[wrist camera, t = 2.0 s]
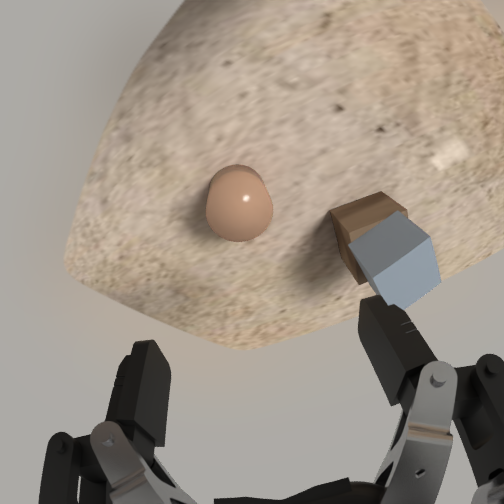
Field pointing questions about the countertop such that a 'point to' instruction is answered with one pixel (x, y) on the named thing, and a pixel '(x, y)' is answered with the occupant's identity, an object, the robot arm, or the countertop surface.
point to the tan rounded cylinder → (238, 204)
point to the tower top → (397, 260)
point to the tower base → (361, 225)
